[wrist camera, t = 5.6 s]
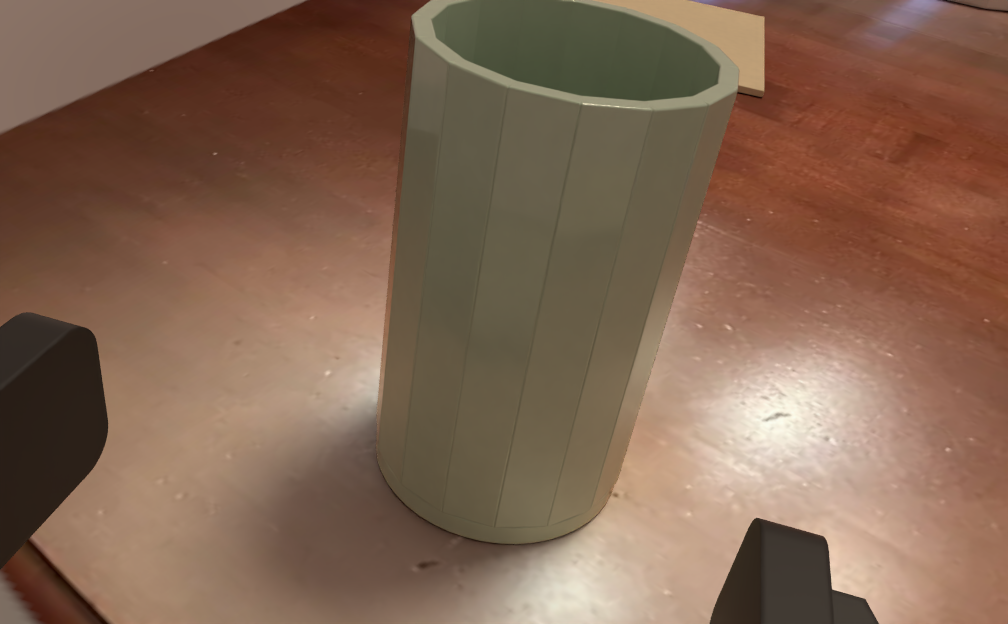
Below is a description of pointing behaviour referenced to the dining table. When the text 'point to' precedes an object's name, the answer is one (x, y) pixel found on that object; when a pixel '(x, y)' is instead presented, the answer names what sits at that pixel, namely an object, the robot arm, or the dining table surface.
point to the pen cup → (536, 252)
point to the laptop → (986, 4)
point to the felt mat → (715, 33)
